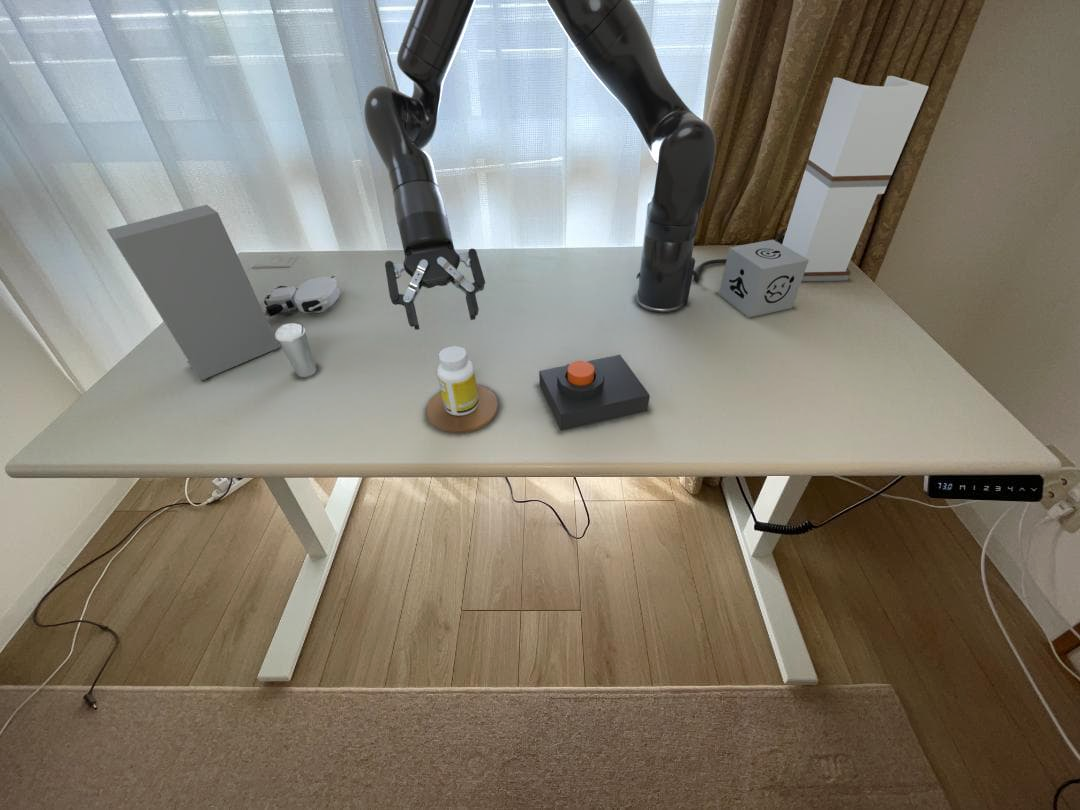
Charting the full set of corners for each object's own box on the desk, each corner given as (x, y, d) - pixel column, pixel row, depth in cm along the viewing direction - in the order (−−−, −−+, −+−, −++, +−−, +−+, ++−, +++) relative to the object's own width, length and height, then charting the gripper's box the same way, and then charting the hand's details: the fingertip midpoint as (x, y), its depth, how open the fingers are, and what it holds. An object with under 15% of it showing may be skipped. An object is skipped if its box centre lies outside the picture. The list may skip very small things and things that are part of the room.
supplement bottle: (484, 397, 78) (477, 346, 71) (470, 420, 74) (461, 368, 67) (454, 391, 79) (444, 340, 72) (438, 412, 75) (426, 361, 69)
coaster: (489, 381, 82) (489, 378, 81) (505, 424, 74) (504, 421, 73) (423, 394, 80) (423, 391, 79) (432, 440, 72) (431, 437, 71)
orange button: (588, 367, 76) (588, 358, 75) (597, 383, 73) (598, 373, 72) (563, 372, 75) (564, 363, 74) (572, 388, 72) (572, 379, 71)
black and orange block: (618, 369, 83) (621, 345, 80) (647, 410, 75) (651, 385, 72) (539, 386, 80) (538, 361, 77) (560, 430, 72) (560, 405, 69)
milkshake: (315, 381, 83) (294, 331, 76) (287, 378, 84) (264, 328, 77) (329, 365, 86) (310, 316, 80) (302, 362, 87) (281, 313, 80)
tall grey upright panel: (268, 335, 94) (205, 203, 78) (281, 348, 91) (218, 212, 74) (190, 367, 87) (104, 228, 71) (201, 381, 84) (113, 239, 67)
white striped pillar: (847, 280, 104) (928, 86, 81) (796, 281, 104) (863, 88, 81) (824, 257, 113) (892, 75, 90) (777, 258, 113) (833, 77, 90)
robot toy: (262, 330, 97) (337, 318, 98) (251, 310, 94) (328, 298, 95) (279, 299, 107) (347, 289, 107) (269, 280, 104) (339, 270, 104)
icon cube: (759, 285, 104) (773, 239, 97) (791, 307, 96) (808, 260, 90) (718, 293, 101) (729, 247, 95) (748, 317, 94) (762, 269, 88)
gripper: (371, 216, 70) (395, 325, 69) (469, 203, 72) (493, 308, 72) (378, 238, 77) (400, 337, 76) (467, 225, 80) (489, 321, 79)
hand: (445, 323), depth 74 cm, fingers open, 8 cm apart
